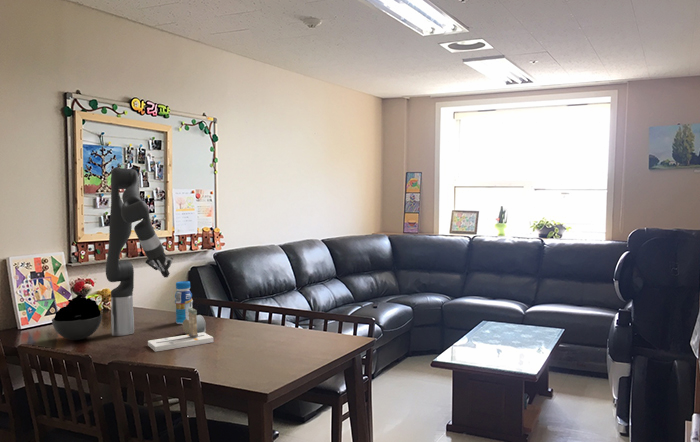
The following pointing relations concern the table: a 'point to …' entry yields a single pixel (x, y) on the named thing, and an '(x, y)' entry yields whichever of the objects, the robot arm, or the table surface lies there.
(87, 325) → the bowl of black rocks
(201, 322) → the ceramic mug
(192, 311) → the fader tab
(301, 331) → the table surface
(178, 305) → the beverage bottle
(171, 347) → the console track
